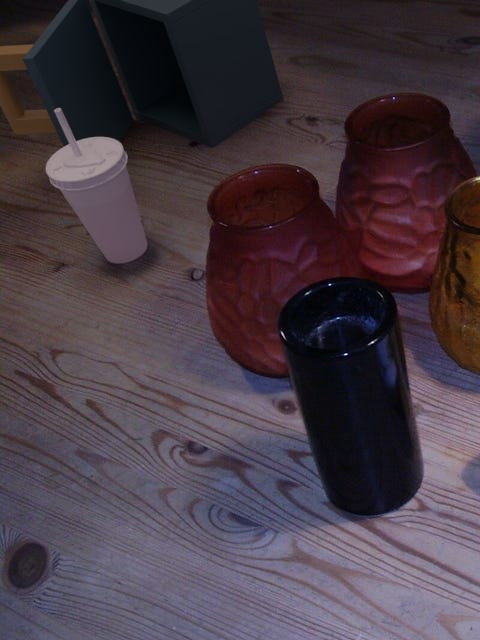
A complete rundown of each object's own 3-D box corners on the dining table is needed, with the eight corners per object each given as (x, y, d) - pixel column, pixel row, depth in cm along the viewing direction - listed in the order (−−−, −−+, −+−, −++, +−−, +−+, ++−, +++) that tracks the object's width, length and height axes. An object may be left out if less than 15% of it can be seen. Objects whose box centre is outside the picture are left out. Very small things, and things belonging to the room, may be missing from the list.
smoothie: (122, 221, 91) (61, 84, 81) (177, 236, 88) (120, 95, 78) (74, 265, 87) (3, 126, 77) (131, 281, 85) (65, 140, 75)
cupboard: (213, 149, 98) (166, 14, 88) (135, 118, 104) (83, -12, 94) (284, 100, 103) (248, -33, 93) (206, 73, 109) (164, -55, 99)
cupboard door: (31, 192, 96) (-36, 62, 86) (76, 123, 104) (20, -3, 94) (93, 189, 95) (32, 58, 85) (134, 120, 103) (83, -7, 93)
